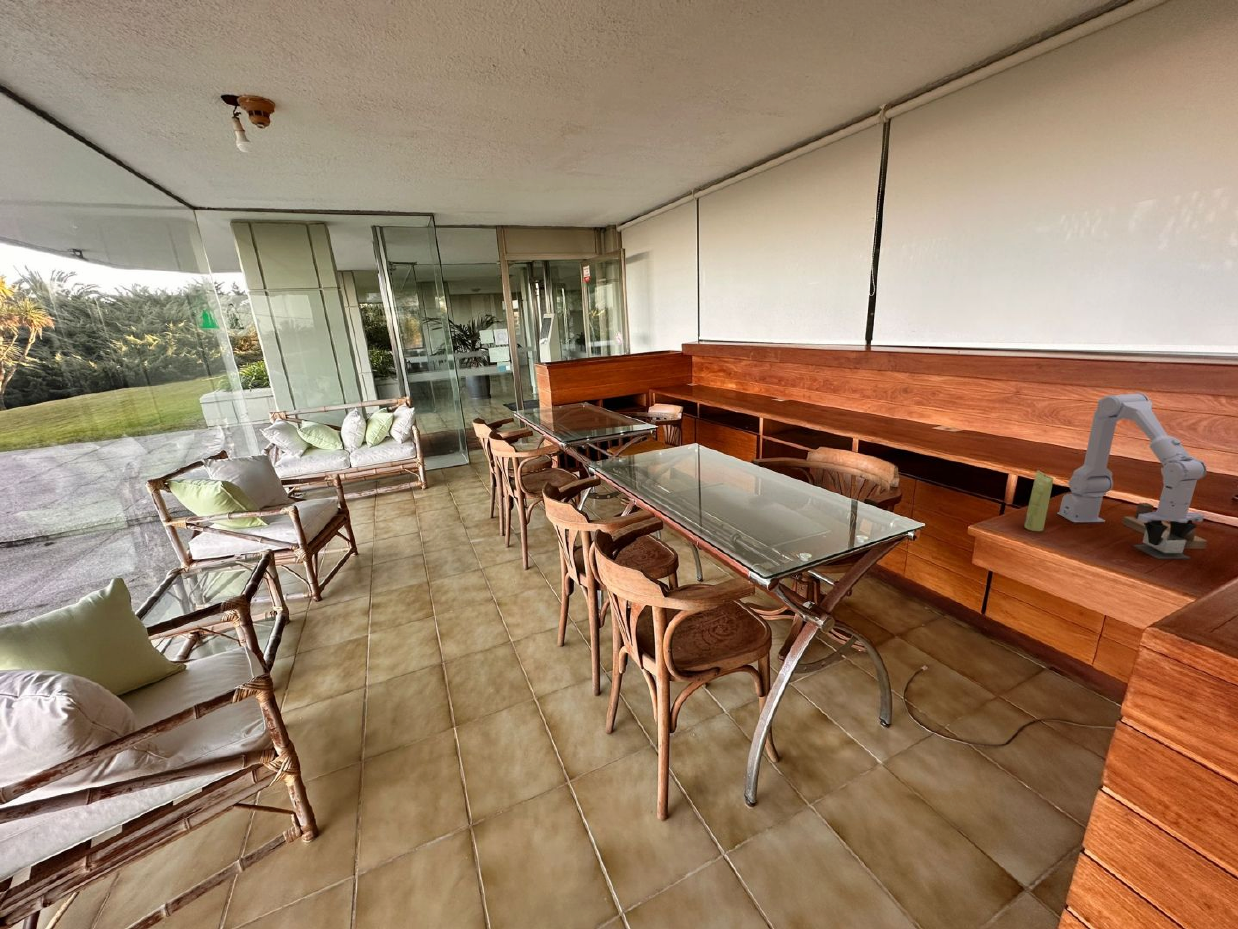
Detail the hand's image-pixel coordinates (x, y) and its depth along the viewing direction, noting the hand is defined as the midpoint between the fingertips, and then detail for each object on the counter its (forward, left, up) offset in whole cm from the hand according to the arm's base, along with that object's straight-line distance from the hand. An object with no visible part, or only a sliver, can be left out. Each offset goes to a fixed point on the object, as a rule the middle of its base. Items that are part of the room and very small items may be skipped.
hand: (1162, 543), depth 141 cm
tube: (-23, +17, -3) cm, 29 cm away
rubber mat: (0, 0, -3) cm, 3 cm away
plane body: (+9, +11, -3) cm, 14 cm away
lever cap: (0, 0, -1) cm, 1 cm away
